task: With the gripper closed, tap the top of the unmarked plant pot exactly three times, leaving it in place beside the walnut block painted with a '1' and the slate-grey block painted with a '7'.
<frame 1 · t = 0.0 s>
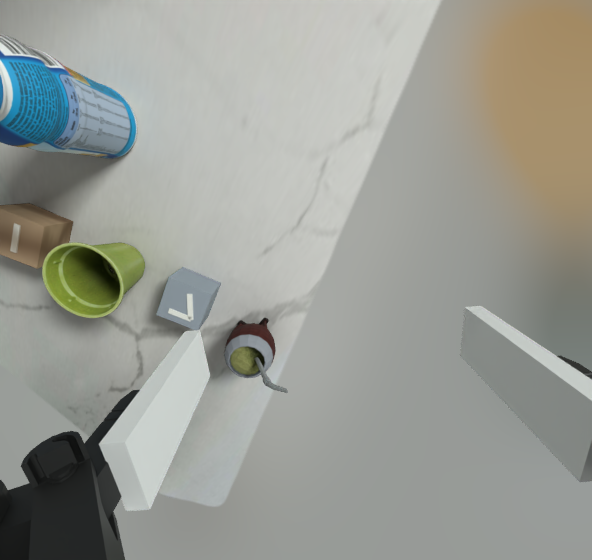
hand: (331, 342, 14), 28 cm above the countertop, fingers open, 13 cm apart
plant pot: (125, 262, 42), on the countertop
beverage bottle: (107, 124, 37), on the countertop
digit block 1: (48, 232, 41), on the countertop
mate gourd: (258, 330, 46), on the countertop
digit block 7: (196, 291, 44), on the countertop
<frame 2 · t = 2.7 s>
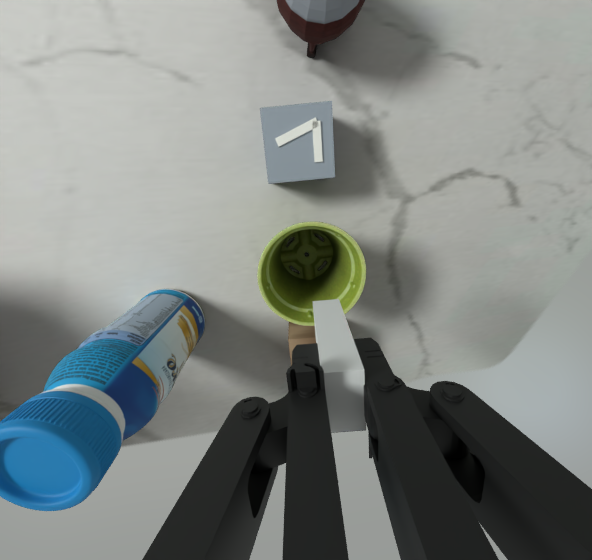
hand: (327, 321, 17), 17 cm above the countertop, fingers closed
plant pot: (307, 253, 33), on the countertop
beverage bottle: (173, 317, 36), on the countertop
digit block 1: (314, 338, 37), on the countertop
mate gourd: (311, 14, 26), on the countertop
digit block 7: (298, 150, 30), on the countertop
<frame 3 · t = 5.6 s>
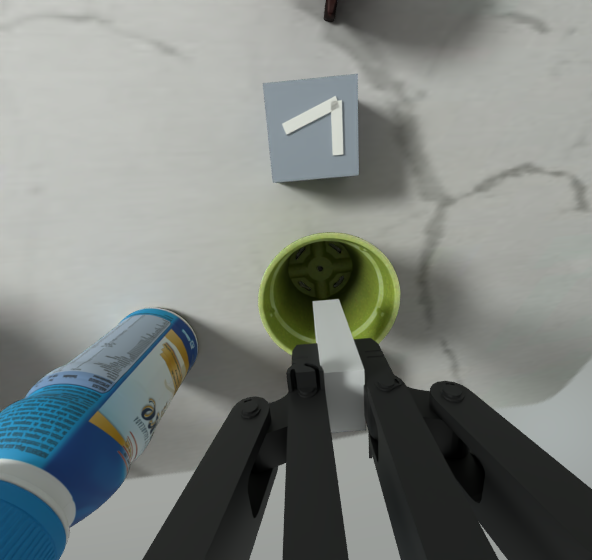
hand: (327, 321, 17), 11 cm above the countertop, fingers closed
plant pot: (320, 267, 27), on the countertop
beverage bottle: (161, 340, 30), on the countertop
digit block 7: (310, 141, 24), on the countertop
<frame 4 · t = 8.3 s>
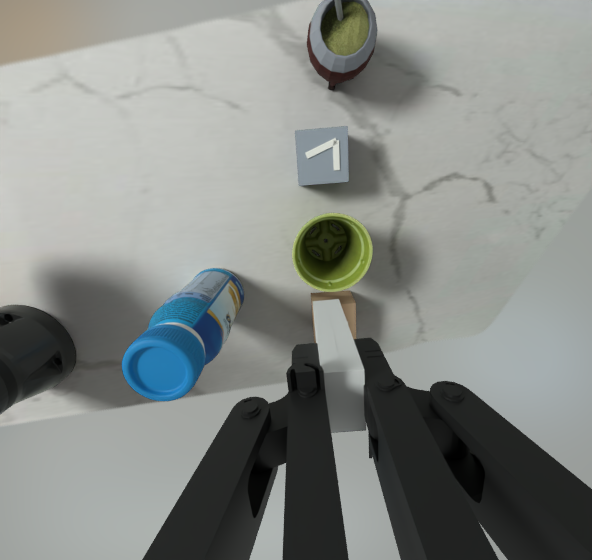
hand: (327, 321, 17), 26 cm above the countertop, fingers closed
plant pot: (326, 240, 42), on the countertop
beverage bottle: (218, 291, 45), on the countertop
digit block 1: (331, 309, 45), on the countertop
mate gourd: (332, 58, 35), on the countertop
digit block 7: (319, 160, 38), on the countertop
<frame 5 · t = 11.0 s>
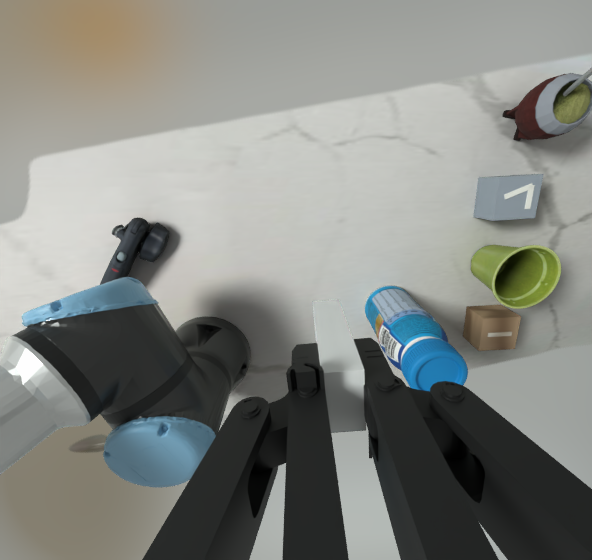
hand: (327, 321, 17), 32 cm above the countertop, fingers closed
plant pot: (487, 262, 49), on the countertop
beverage bottle: (386, 305, 52), on the countertop
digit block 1: (481, 320, 52), on the countertop
mate gourd: (520, 114, 42), on the countertop
can opener: (133, 259, 49), on the countertop
digit block 7: (494, 196, 46), on the countertop
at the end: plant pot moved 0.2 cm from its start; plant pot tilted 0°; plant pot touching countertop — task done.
